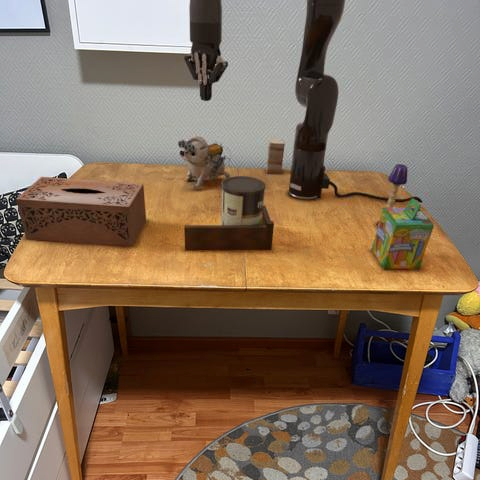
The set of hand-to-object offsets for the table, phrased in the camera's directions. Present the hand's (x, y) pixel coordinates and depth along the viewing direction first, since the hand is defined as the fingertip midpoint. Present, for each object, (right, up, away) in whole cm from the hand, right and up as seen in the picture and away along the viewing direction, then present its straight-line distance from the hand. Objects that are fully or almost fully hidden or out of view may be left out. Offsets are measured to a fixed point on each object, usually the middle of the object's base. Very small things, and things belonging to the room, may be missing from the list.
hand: (205, 100), depth 119 cm
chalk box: (+46, -42, -7) cm, 62 cm away
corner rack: (+5, -36, -2) cm, 36 cm away
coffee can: (+9, -36, -1) cm, 37 cm away
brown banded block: (+20, -6, +39) cm, 44 cm away
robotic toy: (-3, -14, +27) cm, 30 cm away
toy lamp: (+48, -31, +8) cm, 58 cm away
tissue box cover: (-29, -33, -2) cm, 44 cm away
